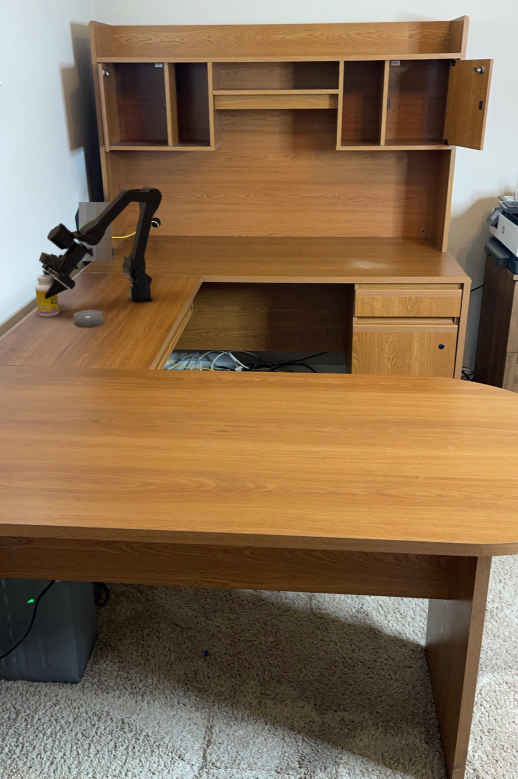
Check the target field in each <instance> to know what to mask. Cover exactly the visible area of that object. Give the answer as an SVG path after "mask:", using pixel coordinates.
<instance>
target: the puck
mask: <svg viewBox="0 0 518 779" xmlns="http://www.w3.org/2000/svg"><path fill="white" fill-rule="evenodd" d="M73 323H74V326H75V325H77V326H79V327H78V328H83V327H89V328H95V327H94V326H96V327H99V326H101V325H103V324H102V323H104V316H103V312H102V311H100V310H96V309H95V310H94V309H87V310H86V309H85V310H84V309H83V310H81V311H80V310H79V311H77V312H75V313H74V314H73ZM100 324H101V325H100ZM98 325H99V326H98ZM77 326H76V327H77Z"/></svg>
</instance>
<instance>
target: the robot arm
mask: <svg viewBox="0 0 518 779" xmlns="http://www.w3.org/2000/svg"><path fill="white" fill-rule="evenodd" d="M162 200H163V194H162V192H161V191H160V189H158V188H155V187H153V186H148V185H146V186H143V187H142V188H129V189H128V188H123V189H121V190H120V191H119V192H118V194H117V195H116V196H115V197H114V199H113V200H112V201H111V202H110V203H109V204H108V205H107V206H106V207H105V209H104V210H103V211H102V212H101V213H99V215H98V216H97V217H95V218H94V219H92V220H90V221H88V222H87V223H86V224H84V225H83V226H82V227H80V229H78V230H75V231H74V230H73V231H71V230H69V229H68V228H67V227H66V225H65V224H64V223H62V222H60V223H59V224H58V225H56V226H55V227H54V228H52V229H50V231H49V233H47V240H48V241H49V242H51V243H52V244H53V245H55V246H56V247H57V248H58V249H60V250H61V251H63V250H65V251H64V253H63V254H59V255H56V254H53V253H50V254H49V253H46V252H44V251H42V252H40V257H39V259H38V262H40V264H42V265H41V268H42V273H43V275H51V276H52V284H51V286H50V288H49V289H48V291H47V293H46V295H45V296H44V297H45V298H46V299H48V298H50V297H52V296H54V295H56V294H57V295H58V294H60V293H62V292H64V291H67V290H69V289H70V290H74V288H75V286H76V281H75V280H73V279H72V277H71V275H72V274H73V273H74V271H75V270H76V271H78V270H79V265H80V263H81V262H82V261H83V259H84V258H86V256H87V255H88V256H90V257H91V258H92V257H94V252H93V248H92V247H90V246H93V247H95V246H97V245H98V244H100V242H101V241H102V240H103V238H104V236H105V233H106V231H107V229H108V228H109V226H110V225H111V224H112V223H113V222H114V221H115V220H116V219H117V217H118V216H120V215H121V213H122V212H123V211H124V210H125V209H126V208H127V207H128V206H129V204H131V203H138V207H139V214H138V220H137V223H136V229H135V232H134V233H135V234H134V238H133V242H132V247H131V251H130V253H129V254H128V256H127V255H123V256H124V257H123V264H122V265H121V268H122V272H123V274H124V276H126V277H127V279H128V281H130V286H129V287H128V288H129V298H130V300H131V301H132V302H134V303H142V302H151V301H153V297H152V296H151V294H152V293H151V285H152V282H153V278H152V277H151V276H150V275H149V274H147V273H146V268H147V266H146V265H147V264H146V257H145V255H146V251H147V246H148V241H149V237H150V236H149V235H150V232H151V228H152V223H153V219H154V216H155V214H156V212H157V211H158V209H159V208H160V205H161V203H162ZM77 241H78V242H77ZM85 244H86V245H85ZM87 245H88V246H89V247H88V246H87Z"/></svg>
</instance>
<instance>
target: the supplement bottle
mask: <svg viewBox="0 0 518 779" xmlns="http://www.w3.org/2000/svg"><path fill="white" fill-rule="evenodd" d="M36 280H37V282H38V283H37V284H36V285H35V296H36V297H35V298H36V306H37V312H38V315H39V316H40V317H45V318H47V317H48V318H49V317H54V316H57V315H58V314H59V313H60V311H59V310H60V309H59V300H58V294H56V295H54V296H52V297H50V298H48V299H46V298H45V297H44V296H45V295H46V293H47V291H48V289H49V288H50V286H51V284H52V276H51V275H44V274H42V275H38V276H37V278H36Z"/></svg>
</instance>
